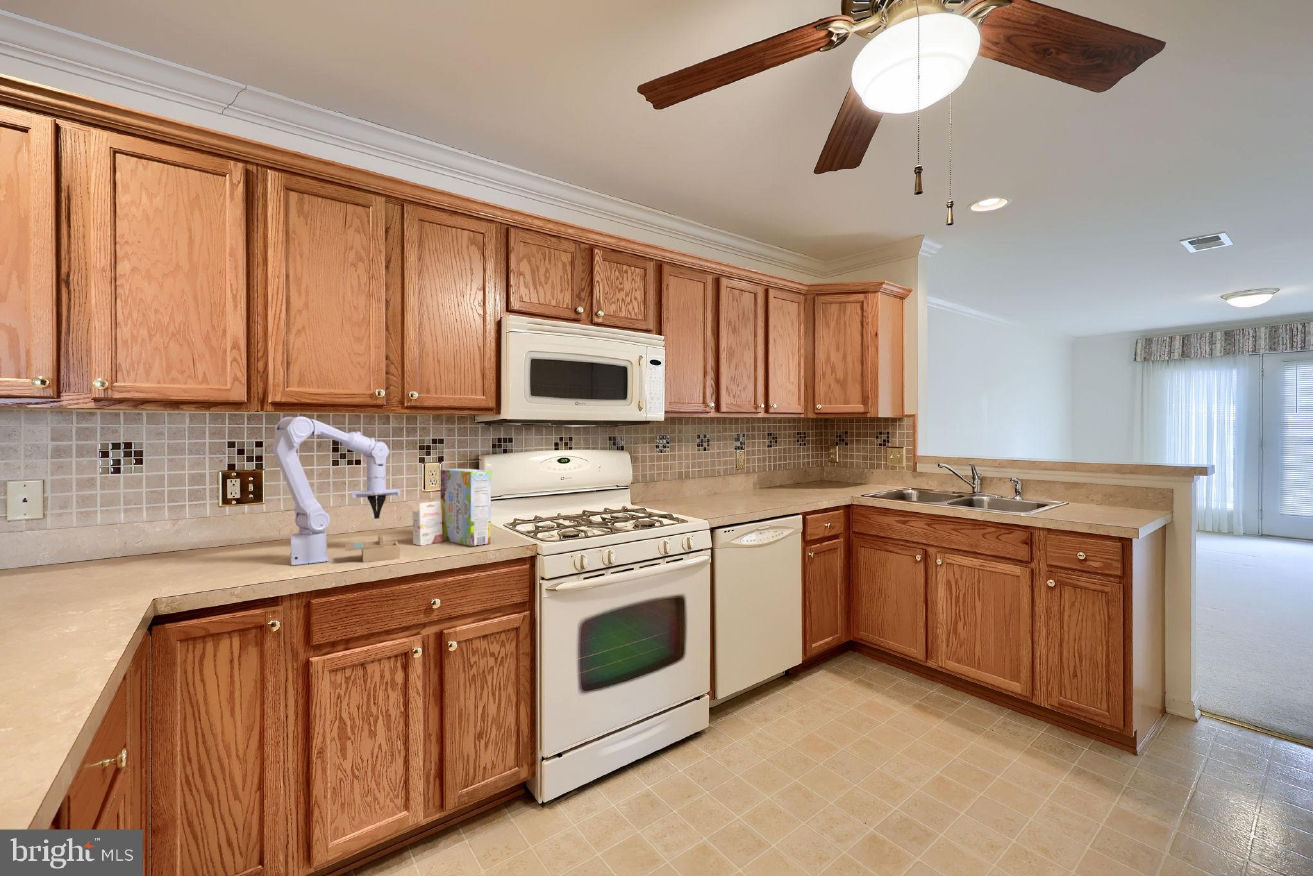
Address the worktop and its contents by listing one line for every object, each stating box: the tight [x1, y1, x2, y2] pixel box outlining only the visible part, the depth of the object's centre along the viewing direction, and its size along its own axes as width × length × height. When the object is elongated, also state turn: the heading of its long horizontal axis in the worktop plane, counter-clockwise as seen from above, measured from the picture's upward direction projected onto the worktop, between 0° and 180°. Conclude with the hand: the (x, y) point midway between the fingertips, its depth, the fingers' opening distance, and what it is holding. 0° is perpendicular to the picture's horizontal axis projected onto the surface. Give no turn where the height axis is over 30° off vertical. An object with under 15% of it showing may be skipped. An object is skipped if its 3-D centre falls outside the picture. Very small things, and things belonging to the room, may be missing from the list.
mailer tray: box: [361, 540, 401, 563], centre depth 174 cm, size 10×8×4 cm
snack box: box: [439, 468, 492, 547], centre depth 199 cm, size 22×9×26 cm, turn 49°
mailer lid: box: [344, 534, 384, 552], centre depth 172 cm, size 10×8×3 cm
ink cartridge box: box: [412, 500, 443, 546], centre depth 196 cm, size 9×5×15 cm, turn 143°
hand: (376, 518), depth 186 cm, fingers closed
